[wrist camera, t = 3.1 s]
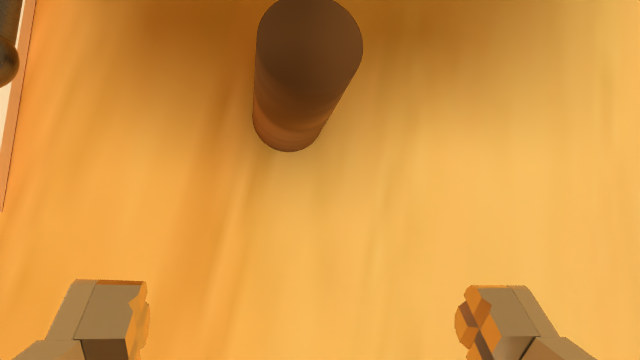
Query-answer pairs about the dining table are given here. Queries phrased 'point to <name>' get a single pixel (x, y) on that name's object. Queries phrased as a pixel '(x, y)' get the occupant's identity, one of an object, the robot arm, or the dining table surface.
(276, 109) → the walnut peg
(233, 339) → the dining table surface
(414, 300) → the dining table surface
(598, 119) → the dining table surface
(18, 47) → the plate
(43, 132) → the dining table surface
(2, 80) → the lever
